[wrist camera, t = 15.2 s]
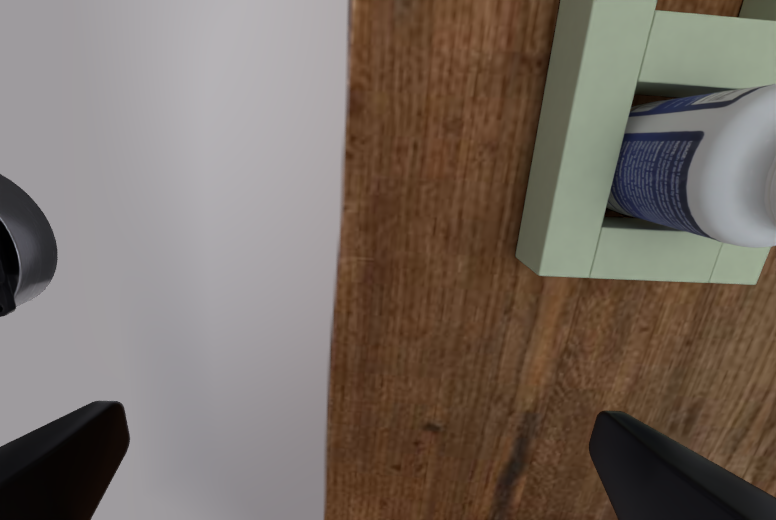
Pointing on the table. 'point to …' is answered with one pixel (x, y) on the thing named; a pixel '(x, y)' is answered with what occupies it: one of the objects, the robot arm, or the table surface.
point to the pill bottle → (702, 166)
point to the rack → (607, 127)
